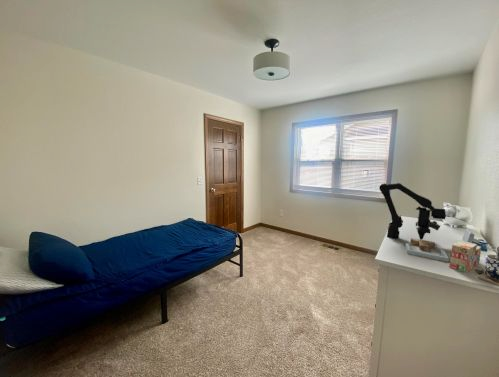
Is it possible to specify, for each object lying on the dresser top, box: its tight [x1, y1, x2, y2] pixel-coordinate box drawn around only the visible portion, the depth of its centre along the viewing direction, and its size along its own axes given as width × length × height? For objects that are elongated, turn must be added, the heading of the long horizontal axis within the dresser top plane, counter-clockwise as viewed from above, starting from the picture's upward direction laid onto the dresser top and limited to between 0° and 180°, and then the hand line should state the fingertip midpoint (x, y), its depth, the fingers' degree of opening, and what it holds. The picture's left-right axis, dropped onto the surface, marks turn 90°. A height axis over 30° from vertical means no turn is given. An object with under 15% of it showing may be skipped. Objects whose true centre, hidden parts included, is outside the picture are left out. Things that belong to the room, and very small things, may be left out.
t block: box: [409, 237, 436, 252], centre depth 132 cm, size 12×12×3 cm
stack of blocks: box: [449, 240, 482, 274], centre depth 109 cm, size 21×6×12 cm, turn 121°
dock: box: [405, 242, 450, 263], centre depth 123 cm, size 18×14×2 cm
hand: (421, 239), depth 142 cm, fingers closed
